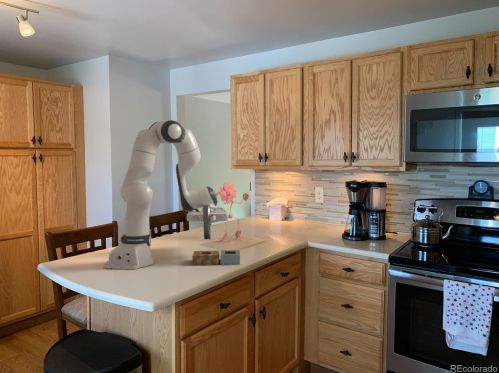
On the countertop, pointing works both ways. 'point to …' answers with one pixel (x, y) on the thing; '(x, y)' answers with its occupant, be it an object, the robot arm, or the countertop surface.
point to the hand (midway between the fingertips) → (206, 219)
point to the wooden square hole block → (205, 258)
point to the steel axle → (206, 221)
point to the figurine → (228, 195)
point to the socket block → (230, 257)
